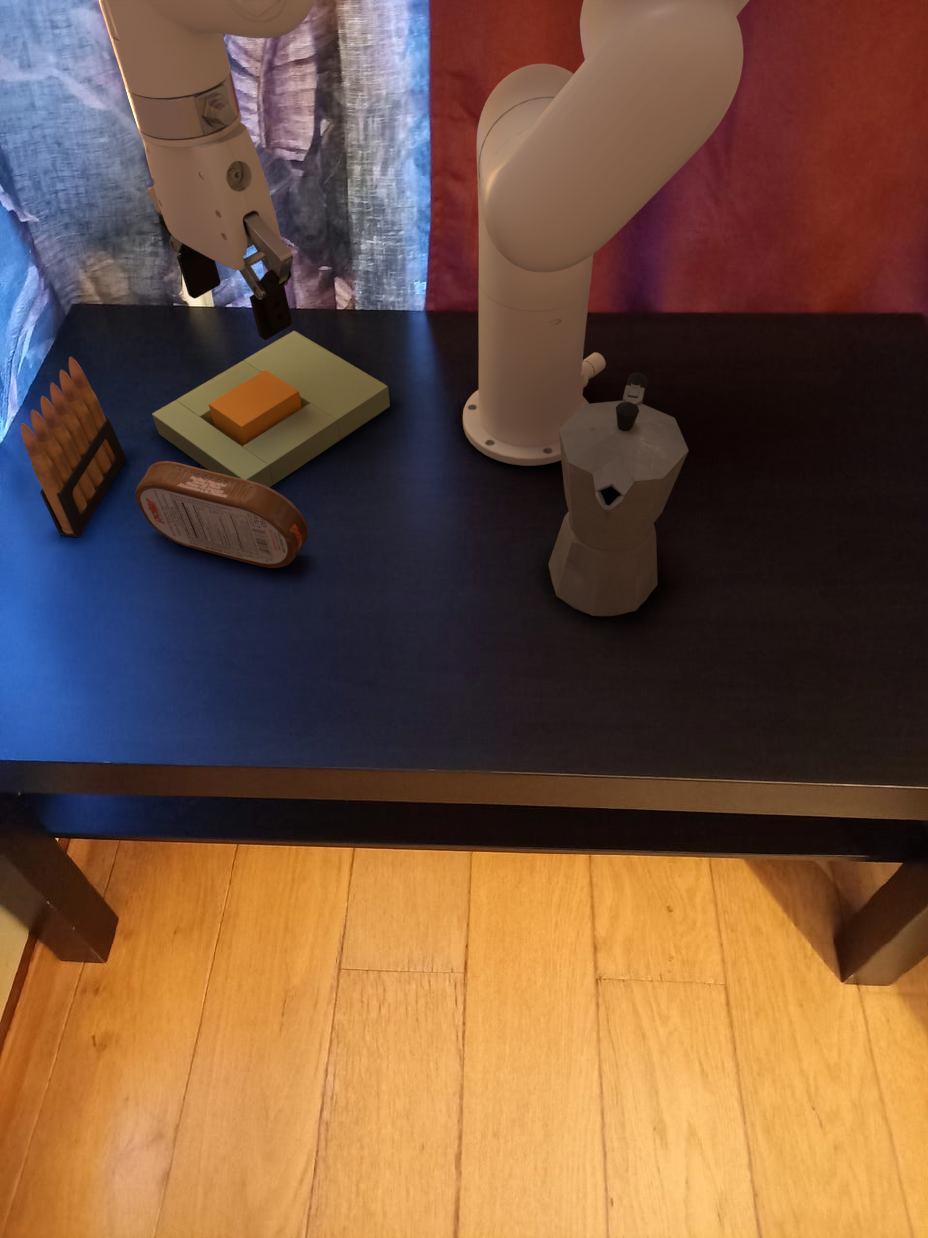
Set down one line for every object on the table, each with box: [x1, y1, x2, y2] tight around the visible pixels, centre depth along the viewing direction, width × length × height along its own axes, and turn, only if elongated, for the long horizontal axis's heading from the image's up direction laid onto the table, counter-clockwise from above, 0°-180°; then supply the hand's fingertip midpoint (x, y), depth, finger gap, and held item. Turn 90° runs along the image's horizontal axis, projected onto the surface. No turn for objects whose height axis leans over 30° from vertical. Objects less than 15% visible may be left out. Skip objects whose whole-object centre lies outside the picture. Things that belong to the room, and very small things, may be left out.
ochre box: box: [209, 370, 302, 447], centre depth 90 cm, size 7×5×4 cm
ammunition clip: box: [20, 356, 127, 538], centre depth 82 cm, size 11×2×12 cm, turn 170°
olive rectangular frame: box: [151, 330, 391, 488], centre depth 92 cm, size 18×14×2 cm
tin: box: [134, 460, 309, 569], centre depth 79 cm, size 15×3×8 cm, turn 71°
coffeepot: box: [547, 372, 689, 617], centre depth 73 cm, size 15×9×18 cm, turn 165°
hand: (240, 310), depth 82 cm, fingers open, 9 cm apart
